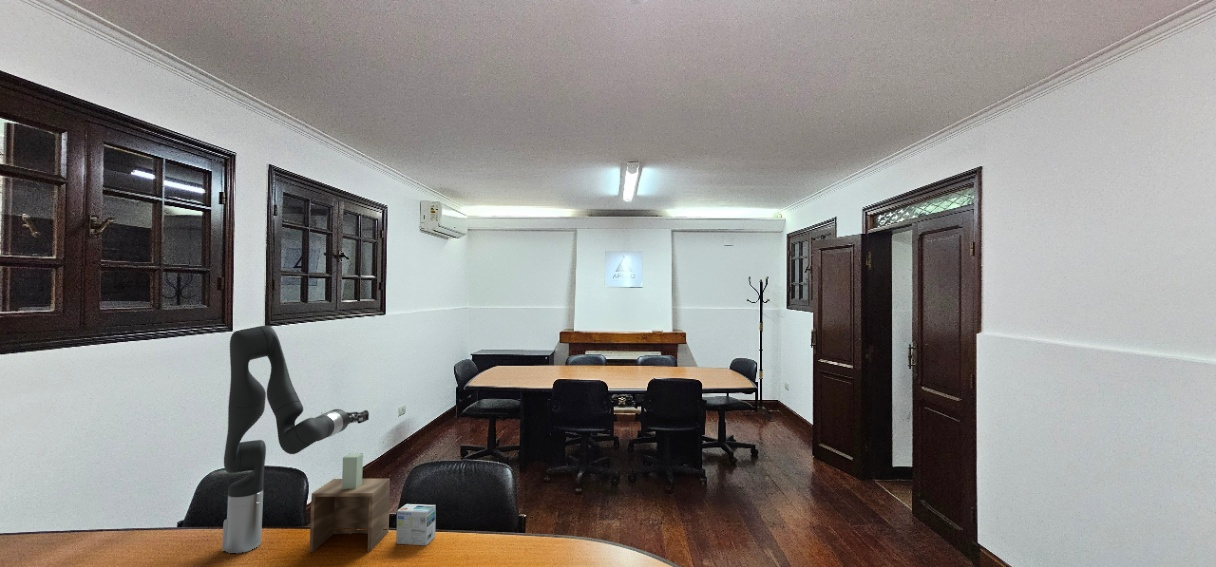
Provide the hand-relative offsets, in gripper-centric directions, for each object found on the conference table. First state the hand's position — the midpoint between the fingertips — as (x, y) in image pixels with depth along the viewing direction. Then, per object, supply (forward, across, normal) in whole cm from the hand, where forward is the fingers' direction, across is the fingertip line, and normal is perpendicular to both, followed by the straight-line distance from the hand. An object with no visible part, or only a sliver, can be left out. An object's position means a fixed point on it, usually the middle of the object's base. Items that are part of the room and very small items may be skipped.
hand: (354, 413), depth 177 cm
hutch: (-8, -4, +40) cm, 41 cm away
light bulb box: (-8, -25, +40) cm, 48 cm away
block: (-9, -4, +22) cm, 24 cm away
